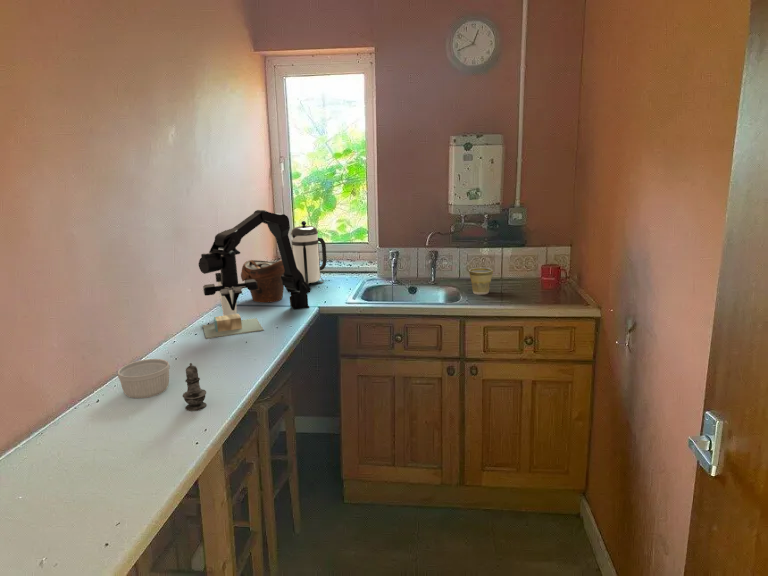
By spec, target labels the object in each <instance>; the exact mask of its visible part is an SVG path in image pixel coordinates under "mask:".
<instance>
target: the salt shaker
mask: <svg viewBox="0 0 768 576" xmlns="http://www.w3.org/2000/svg"><path fill="white" fill-rule="evenodd" d="M198 371H199V370H198V367H197V366H195V365H193V363H192V362H190V363H189V365H188V366H187V367H186V368H185V374H186V375H185V376H186V379H185V380H184V381H185V383H186V385H187V391H185V392H183V394H182V398H183V399H184V401H185V402H186V404H187V405H186V406H185V407H184V408H185V410H186V411H188V412H196V411H201V410H203V409H205V408H206V407H207V403H206V402H204V400H205V399H206V395H207V391H206V390H205V389H203V388H201V385H200V380H201V378H200V377H199V372H198Z"/></svg>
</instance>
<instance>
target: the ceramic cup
mask: <svg viewBox="0 0 768 576" xmlns="http://www.w3.org/2000/svg"><path fill="white" fill-rule="evenodd" d="M468 274H469V279H470V282H471V288H472V293H473V294H474V295H478V296H479V295H487V294H489V291H490V287H491V281H492V277H493V274H494V270H493V268H491V267H472V268H470V269H468Z"/></svg>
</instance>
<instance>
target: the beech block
mask: <svg viewBox="0 0 768 576" xmlns="http://www.w3.org/2000/svg"><path fill="white" fill-rule="evenodd" d="M241 320H242V317H241V315H240V314H239V313H237V314H233V315H226V316H223V315H218V316H214V317H213V322H214V323H213V324H215V329H216V332H220V331H227V330H234V329H242V323H241Z"/></svg>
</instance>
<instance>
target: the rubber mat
mask: <svg viewBox="0 0 768 576" xmlns="http://www.w3.org/2000/svg"><path fill="white" fill-rule="evenodd" d="M241 323H242V329H234V330H227V331H220V332H216V329H215V324H214V323H211V324H210V323H209V324H203V325H202V327H203V332H204V337H205V339H212V338H220V337H227V336H235V335H241V334H249V333H257V332H263V331H265V330H264V328H263V326H262V325H261V323H260V321H259V320H258V318H257V317H256V318H248V319H241Z"/></svg>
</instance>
